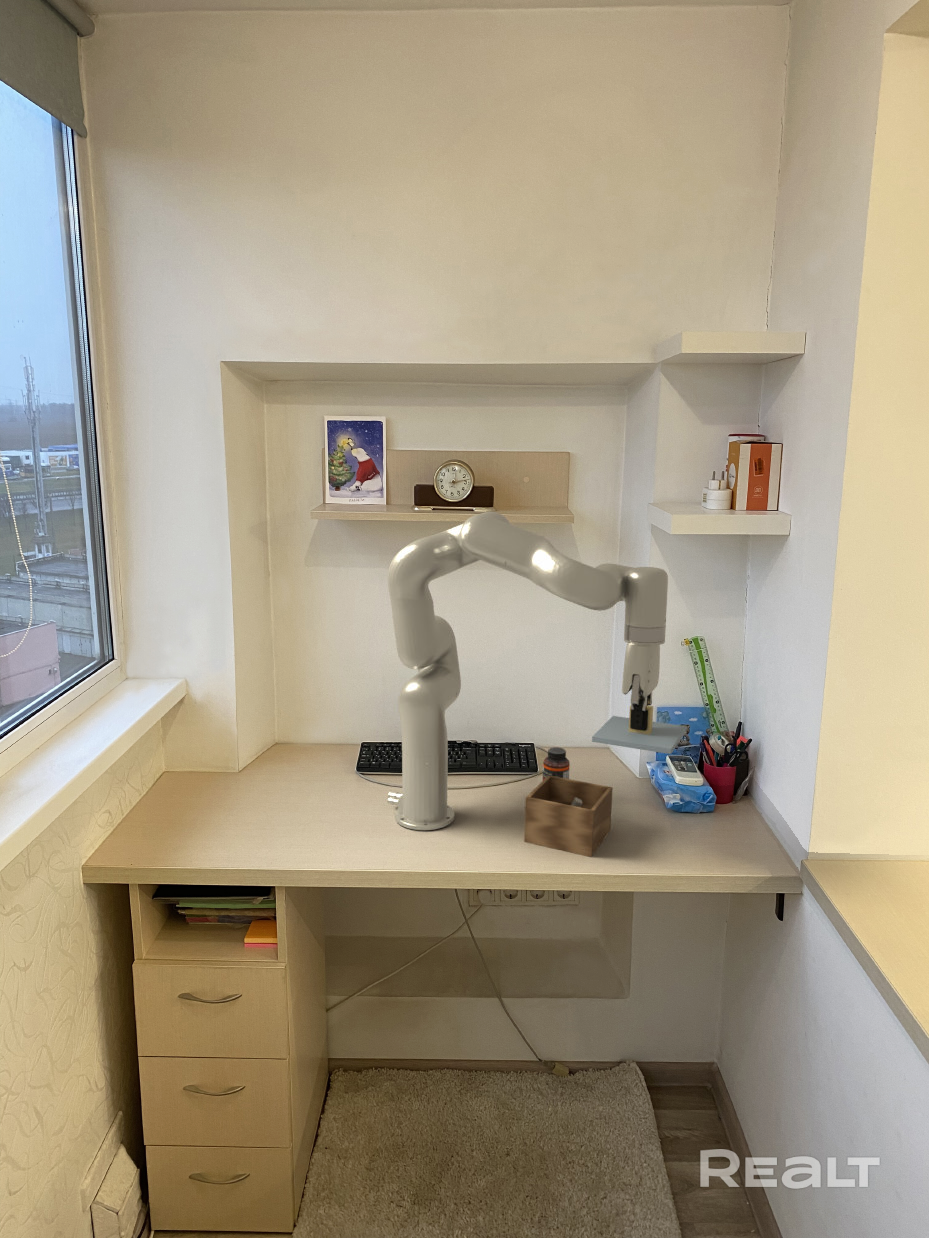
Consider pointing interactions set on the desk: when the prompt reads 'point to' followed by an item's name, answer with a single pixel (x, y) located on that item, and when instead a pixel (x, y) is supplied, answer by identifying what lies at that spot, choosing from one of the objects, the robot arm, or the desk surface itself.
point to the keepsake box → (568, 815)
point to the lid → (640, 734)
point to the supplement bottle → (556, 763)
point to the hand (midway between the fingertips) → (640, 726)
